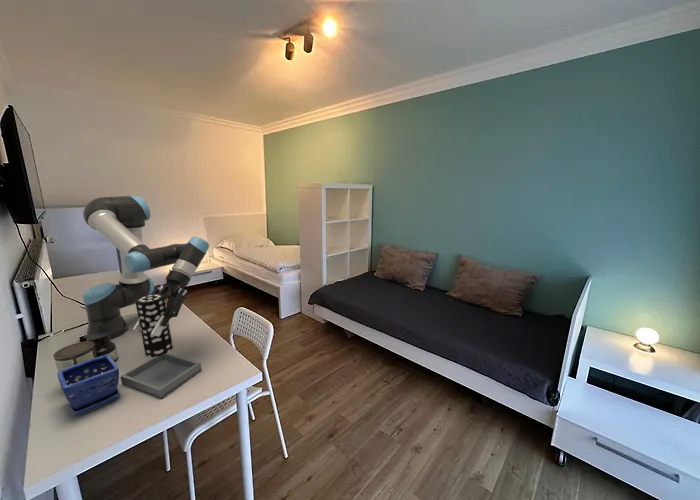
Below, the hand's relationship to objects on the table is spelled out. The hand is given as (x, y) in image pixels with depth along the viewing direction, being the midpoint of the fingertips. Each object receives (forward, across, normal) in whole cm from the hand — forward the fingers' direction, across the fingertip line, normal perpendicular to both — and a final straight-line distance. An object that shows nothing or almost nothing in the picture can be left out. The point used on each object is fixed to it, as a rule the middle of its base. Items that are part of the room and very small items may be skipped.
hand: (145, 332), depth 98 cm
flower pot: (+23, +10, -5) cm, 26 cm away
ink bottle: (+13, +31, -15) cm, 37 cm away
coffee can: (+21, +23, -7) cm, 32 cm away
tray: (+12, 0, -16) cm, 20 cm away
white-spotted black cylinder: (+4, 0, -9) cm, 9 cm away
